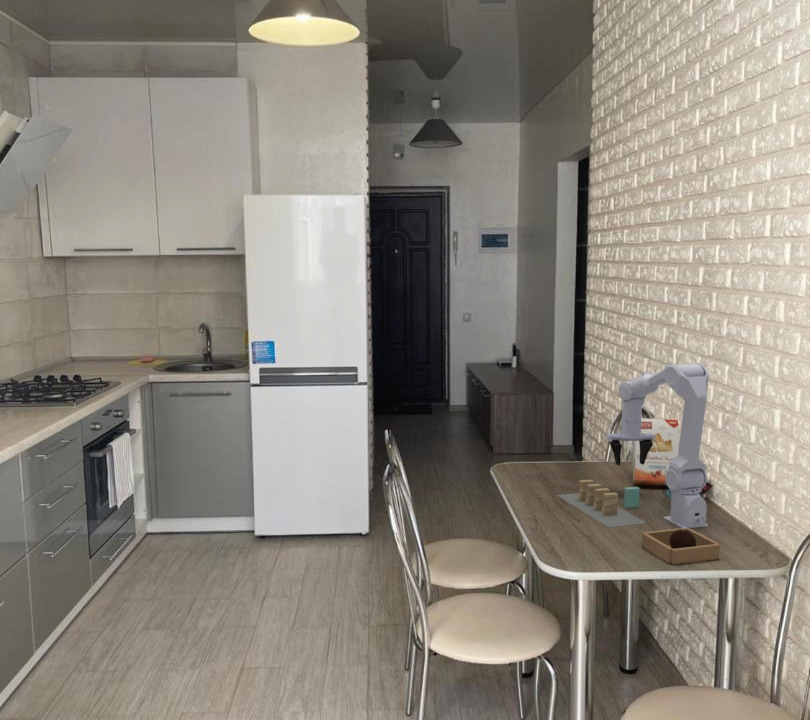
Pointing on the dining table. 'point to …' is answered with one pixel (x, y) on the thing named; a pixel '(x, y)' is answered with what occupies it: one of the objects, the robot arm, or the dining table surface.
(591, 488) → the tile
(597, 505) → the tan wooden block
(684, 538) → the dark brown rounded piece
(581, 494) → the tile
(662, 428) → the cracker box
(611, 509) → the tile
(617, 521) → the board and tray
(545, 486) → the dining table surface
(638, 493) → the tile
